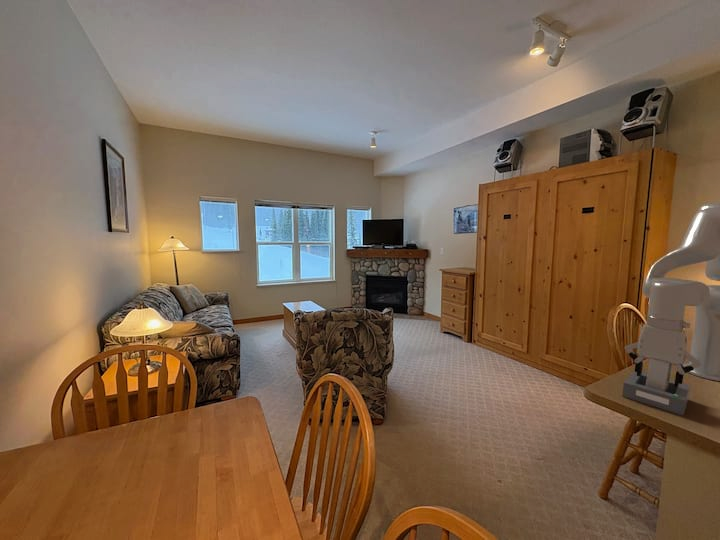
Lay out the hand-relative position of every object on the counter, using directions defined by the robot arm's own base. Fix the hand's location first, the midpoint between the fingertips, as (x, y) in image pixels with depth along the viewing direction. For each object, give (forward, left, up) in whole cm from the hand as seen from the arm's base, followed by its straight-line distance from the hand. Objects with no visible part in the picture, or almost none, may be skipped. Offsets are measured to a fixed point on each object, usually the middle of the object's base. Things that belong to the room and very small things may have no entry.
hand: (657, 379), depth 93 cm
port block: (0, 0, -6) cm, 6 cm away
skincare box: (0, 0, -6) cm, 6 cm away
